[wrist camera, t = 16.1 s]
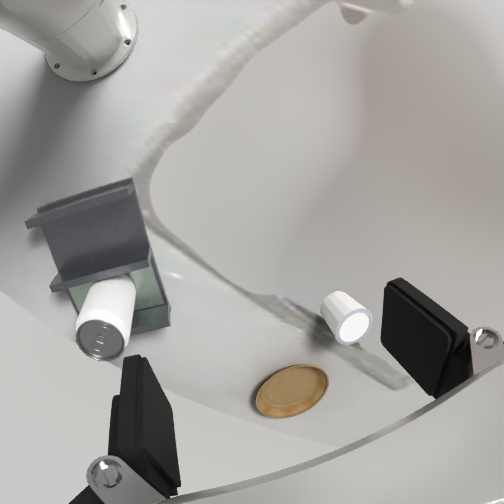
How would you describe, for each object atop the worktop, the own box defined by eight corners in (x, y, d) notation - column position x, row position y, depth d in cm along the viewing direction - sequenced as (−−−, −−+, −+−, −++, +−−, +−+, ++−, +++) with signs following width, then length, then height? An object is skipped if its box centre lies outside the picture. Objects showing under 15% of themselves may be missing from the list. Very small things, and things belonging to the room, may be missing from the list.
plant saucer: (240, 406, 57) (243, 416, 55) (273, 351, 53) (277, 360, 51) (301, 411, 62) (305, 419, 60) (336, 361, 59) (342, 369, 56)
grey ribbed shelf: (39, 207, 35) (23, 217, 30) (132, 177, 37) (126, 183, 32) (87, 327, 43) (80, 349, 38) (170, 307, 45) (171, 328, 40)
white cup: (313, 324, 53) (331, 348, 47) (320, 289, 51) (340, 310, 44) (347, 320, 55) (367, 342, 49) (355, 286, 52) (377, 306, 46)
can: (143, 281, 42) (137, 331, 31) (126, 316, 43) (117, 371, 32) (101, 261, 39) (81, 306, 28) (86, 298, 40) (66, 350, 29)
